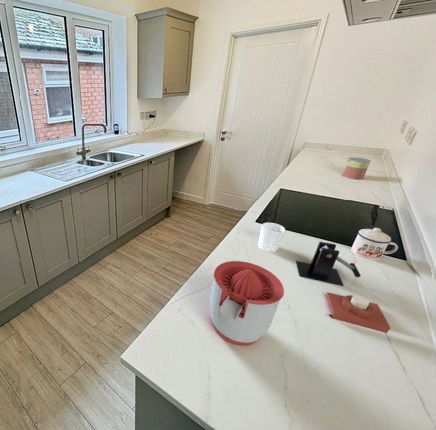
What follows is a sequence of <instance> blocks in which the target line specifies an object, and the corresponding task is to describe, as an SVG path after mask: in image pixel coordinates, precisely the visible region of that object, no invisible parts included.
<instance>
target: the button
mask: <svg viewBox="0 0 436 430" xmlns="http://www.w3.org/2000/svg"><path fill="white" fill-rule="evenodd" d="M369 302H370V301H369V300H368V299H367V298H364V297H363V296H360V295H353V297H352V299H351V301H350V303H351V304H352V305H353V306H355V307H357V308H360V309H367V307H368V305H369Z"/></svg>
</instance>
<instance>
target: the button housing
mask: <svg viewBox="0 0 436 430" xmlns="http://www.w3.org/2000/svg"><path fill="white" fill-rule="evenodd" d="M353 296H354V295H351V294H350V295H349V294H348V295H342V294H338V293H337V294H336V293H333V292H328V291H327V292H326V294H325V298H326V300H327V304H328V306H329V309H330V312H331V313H330V318H331V319H332V320H337V321H340V322H344V323H347V324H351V325H354V326H358V327H363V328H367V329H370V330H372V331H373V330H374V331H378V332H381V333H384V334H387V333H388V332H389V330H390V329H391V326H390V324H389V322H388V320H387V318H386V317H385V315H384V313H383V311H382V310H381V308H380V306H379V304H378V303H375V302H371V301H368V302H369V305H368V307H367V309H360V308H357V307H355V306H353V305H352V304H351V303H350V301H351V299H352V297H353Z"/></svg>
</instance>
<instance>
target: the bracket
mask: <svg viewBox="0 0 436 430" xmlns="http://www.w3.org/2000/svg"><path fill="white" fill-rule="evenodd" d="M325 245H327V246H329V247H330V248H331V249H327V248H322V247H324V246H325ZM336 247H337V244H335V243H329V242H325V241H319V242H318V244H317V246H316V249H315V252H314V254H313V257H312V260H311V262H310V263H309V262H305V261H299V260H296V261H295V264H296V267H297V271H298V276H299V277H300V278H305V279H308V280H314V281H319V282H322V283H327V284H332V285H335V286H340V287H344V285H345V284H344V283H343V281H342V278H341V276H340V274H339V271H338V269H337V268H334V266H335V263H336V261H337V260H336V259H337V257H339V254H340V250H337V249H336ZM321 248H322V249H321ZM320 249H321V251H320ZM332 249H333V250H332Z"/></svg>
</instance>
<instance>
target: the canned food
mask: <svg viewBox="0 0 436 430" xmlns="http://www.w3.org/2000/svg"><path fill="white" fill-rule="evenodd" d="M371 162H372V161H371V160H370V159H367V158H363V157H348V160H347V162H346V165H345V167H344V170H343V173H342V177H344V178H347V179H351V180H363V179H364V178H365V175H366V173H367V171H368V168H369V166H370V163H371Z"/></svg>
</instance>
